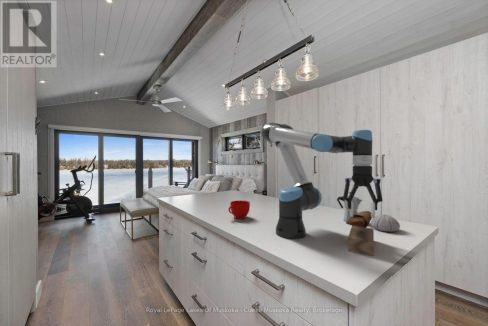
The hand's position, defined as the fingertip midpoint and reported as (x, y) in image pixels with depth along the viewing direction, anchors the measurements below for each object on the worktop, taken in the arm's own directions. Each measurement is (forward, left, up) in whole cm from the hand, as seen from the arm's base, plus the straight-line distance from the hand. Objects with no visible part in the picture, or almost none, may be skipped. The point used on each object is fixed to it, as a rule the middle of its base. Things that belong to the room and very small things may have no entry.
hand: (362, 216), depth 92 cm
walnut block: (0, 0, -13) cm, 13 cm away
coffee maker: (+4, +41, -13) cm, 43 cm away
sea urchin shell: (+19, +28, -13) cm, 36 cm away
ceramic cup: (-65, +29, -13) cm, 72 cm away
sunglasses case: (-1, +1, -3) cm, 3 cm away
